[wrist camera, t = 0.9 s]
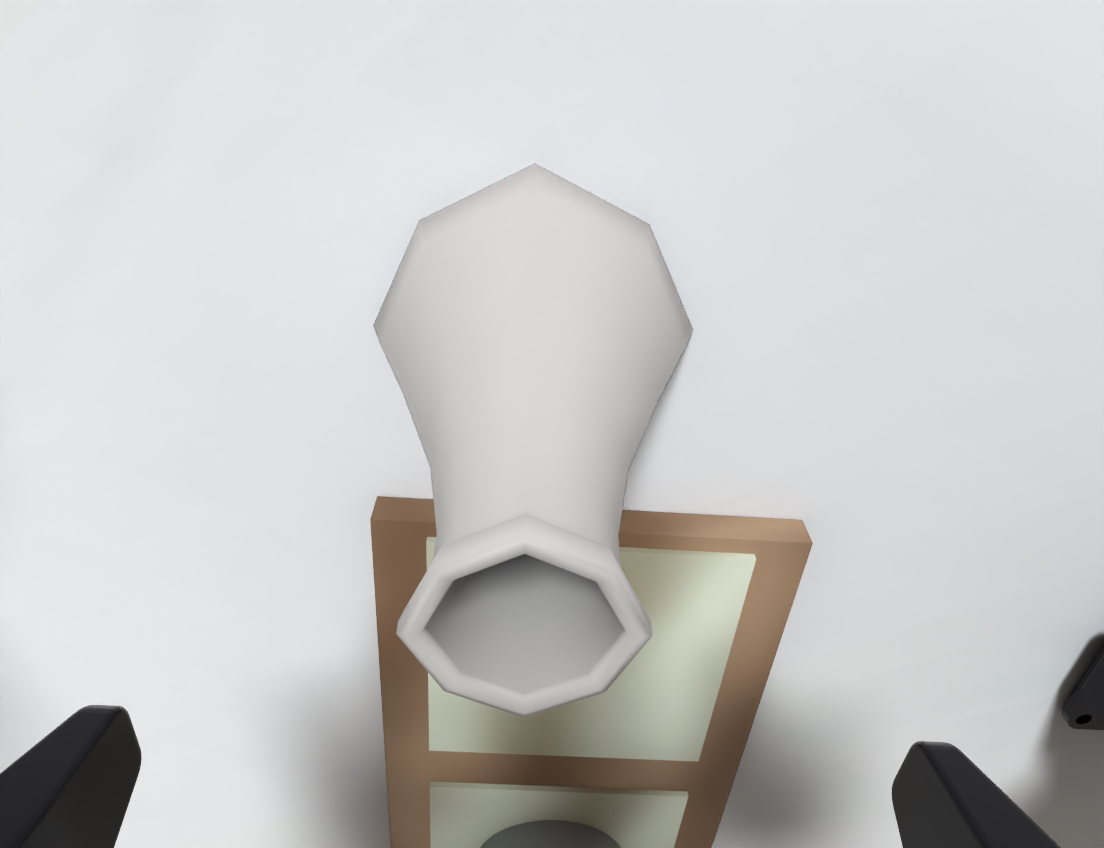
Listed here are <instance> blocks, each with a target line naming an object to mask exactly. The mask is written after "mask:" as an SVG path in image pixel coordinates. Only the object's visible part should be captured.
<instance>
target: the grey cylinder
mask: <svg viewBox="0 0 1104 848" xmlns="http://www.w3.org/2000/svg"><path fill="white" fill-rule="evenodd" d="M481 848H621V847H620V846H619V844H618V843H617V842H616V841H615V840H614V839H613V838H612V837H610V836H609V835H607V834H606V833H604V832H602V831H600V830H598V829H596V828H594V827H591V826H588V825H585V824H581V823H576V822H570V821H561V820H541V821H532V822H526V823H522V824H517V825H514V826H511V827H508V828H506V829H504V830H501V831H499V832H498V833H496V834H494V835H493V836H491V837H490V838H489V839H487V840H486V841H485V843H484V844H483V845H482V846H481Z"/></svg>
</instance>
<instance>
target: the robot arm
mask: <svg viewBox="0 0 1104 848" xmlns="http://www.w3.org/2000/svg"><path fill="white" fill-rule="evenodd" d="M1061 713H1062V716H1063V717H1064V719H1065V720H1066V722H1067V723H1068V725H1069V726H1070V727H1072V728H1075V729H1092V730H1104V646H1103V647H1102V649H1101V650H1100V652H1099V653H1098V655H1097V656H1096V658H1095V660H1094V661H1093V663H1092V664H1091V666H1090V667H1089V669H1088V670H1087V672H1086V673H1085V675H1084V676H1083V678H1082V679H1081V681H1080V683H1079V684H1078V686H1077V687H1076V689H1075V690H1074V692H1073V693H1072V695H1071V696H1070V698H1069V699H1068V701H1067V702H1066V704H1065V705H1064V707H1063V709H1062V711H1061ZM140 766H141V750H140V746H139V743H138V740H137V737H136V734H135V731H134V728H133V725H132V722H131V719H130V716H129V714H128V712H127V710H126V709H124V708H123V707H121V706H106V705H90V706H86V707H84V708H82V709H80V710H78V711H77V712H76V713H74V714H73V715H72V716H71V717H69V718H68V719H67V720H66V721H64V722H63V723H62V724H61V725H60V726H58V727H57V728H56V729H55V730H53V731H52V732H51V733H50V734H48V735H47V736H46V737H45V738H44V739H42V740H41V741H40V742H39V743H37V744H36V745H35V746H34V747H32V748H31V749H30V750H29V751H28V752H26V753H25V754H24V755H23V756H21V757H20V758H19V759H18V760H16V761H15V762H14V763H13V764H12V765H10V766H9V767H8V768H7V769H5V770H4V771H3V772H2V773H0V848H114V846H115V843H116V840H117V837H118V834H119V831H120V828H121V825H122V822H123V819H124V816H125V813H126V810H127V807H128V804H129V801H130V798H131V795H132V792H133V789H134V786H135V783H136V780H137V777H138V774H139V771H140ZM892 801H893V807H894V811H895V815H896V819H897V824H898V828H899V832H900V837H901V841H902V845H903V848H1061V847H1060V846H1058V845H1057V844H1056V843H1055V842H1054V841H1053V840H1052V839H1051V838H1050V837H1049V836H1048V835H1047V834H1046V833H1045V832H1044V831H1043V830H1042V829H1041V828H1040V827H1039V826H1038V825H1037V824H1036V823H1035V822H1034V821H1033V820H1032V819H1031V818H1030V817H1028V816H1027V815H1026V814H1025V813H1024V812H1023V811H1022V810H1021V809H1020V808H1019V807H1018V806H1017V805H1016V804H1015V803H1014V802H1013V801H1012V800H1011V799H1010V798H1009V797H1008V796H1007V795H1006V794H1005V793H1004V792H1003V791H1002V790H1001V789H1000V788H999V787H997V786H996V785H995V784H994V783H993V782H992V781H991V780H990V779H989V778H988V777H987V776H986V775H985V774H984V773H983V772H982V771H981V770H980V769H979V768H978V767H977V766H976V765H975V764H974V763H973V762H972V761H971V760H970V759H969V758H967V757H966V756H965V755H964V754H963V753H962V752H961V751H960V750H959V749H958V748H956V747H955V746H953V745H951V744H949V743H945V742H925V741H919V742H916V743H915V744H913V745H912V746H911V748H910V750H909V752H908V754H907V756H906V758H905V760H904V761H903V763H902V765H901V767H900V769H899V771H898V773H897V775H896V777H895V779H894V782H893V786H892Z"/></svg>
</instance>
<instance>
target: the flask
mask: <svg viewBox="0 0 1104 848" xmlns="http://www.w3.org/2000/svg"><path fill="white" fill-rule="evenodd" d="M373 326H374V329H375V331H376V334H377V337H378V339H379V342H380V344H381V347H382V349H383V351H384V353H385V355H386V358H387V360H388V362H389V364H390V366H391V369H392V371H393V373H394V375H395V377H396V379H397V382H398V384H399V386H400V388H401V390H402V393H403V395H404V398H405V400H406V403H407V406H408V409H409V411H410V414H411V417H412V419H413V422H414V425H415V427H416V430H417V433H418V435H419V438H420V441H421V443H422V446H423V449H424V452H425V454H426V457H427V460H428V462H429V465H430V469H431V479H432V490H433V500H434V510H435V521H436V531H437V535H436V542H435V548H434V554H433V560H432V563H431V565H430V566H429V568H428V570H427V572H426V573H425V575H424V577H423V578H422V580H421V582H420V583H419V585H418V587H417V589H416V590H415V592H414V594H413V595H412V597H411V599H410V601H409V602H408V604H407V606H406V607H405V609H404V611H403V613H402V615H401V617H400V618H399V620H398V625H397V632H396V634H397V635H398V637H399V638H400V639H401V640H402V641H403V643H404V644H405V645H406V646H407V647H408V649H409V650H410V651H411V652H412V653H413V655H414V656H415V657H416V658H417V659H418V661H419V662H420V663H421V664H422V665H423V667H424V668H425V669H426V670H427V671H428V673H429V674H430V675H431V676H432V677H433V679H434V680H435V681H436V682H437V684H438V685H439V686H440V687H441V688H442V690H443V691H445V692H448V693H451V694H454V695H457V696H460V697H463V698H466V699H469V700H472V701H475V702H478V703H481V704H484V705H487V706H490V707H493V708H496V709H499V710H502V711H505V712H509V713H512V714H515V715H518V716H521V717H524V718H526V717H529V716H532V715H535V714H538V713H541V712H544V711H548V710H551V709H554V708H557V707H560V706H563V705H566V704H570V703H573V702H576V701H579V700H582V699H585V698H588V697H592V696H595V695H598V694H601V693H604V692H606V690H607V689H608V688H609V687H610V686H611V685H612V683H613V682H614V681H615V680H616V679H617V677H618V676H619V675H620V674H621V673H622V671H623V670H624V669H625V668H626V667H627V665H628V664H629V663H630V662H631V661H632V659H633V658H634V657H635V656H636V655H637V653H638V652H639V651H640V650H641V649H642V648H643V646H644V645H645V644H646V643H647V642H648V640H649V639H650V638H651V637H652V626H651V622H650V619H649V617H648V615H647V613H646V611H645V609H644V607H643V606H642V604H641V602H640V600H639V599H638V597H637V595H636V593H635V592H634V590H633V588H632V586H631V585H630V583H629V581H628V579H627V578H626V576H625V574H624V572H623V571H622V569H621V559H620V549H619V539H618V533H619V527H620V521H621V514H622V508H623V502H624V495H625V489H626V482H627V476H628V470H629V467H630V465H631V463H632V460H633V458H634V456H635V453H636V451H637V449H638V446H639V444H640V442H641V440H642V437H643V435H644V433H645V430H646V428H647V426H648V423H649V421H650V419H651V417H652V414H653V412H654V410H655V407H656V405H657V403H658V400H659V398H660V396H661V394H662V392H663V390H664V388H665V386H666V384H667V383H668V381H669V379H670V377H671V375H672V373H673V371H674V369H675V367H676V365H677V363H678V361H679V359H680V358H681V356H682V354H683V352H684V350H685V348H686V346H687V343H688V341H689V339H690V337H691V334H692V332H693V328H692V326H691V323H690V321H689V319H688V316H687V314H686V311H685V309H684V307H683V304H682V302H681V299H680V297H679V294H678V292H677V290H676V287H675V285H674V282H673V280H672V278H671V275H670V273H669V270H668V268H667V265H666V263H665V261H664V258H663V256H662V253H661V251H660V249H659V246H658V244H657V241H656V239H655V236H654V234H653V232H652V229H651V227H650V224H648V223H646V222H644V221H642V220H640V219H639V218H637V217H635V216H633V215H631V214H629V213H627V212H625V211H624V210H622V209H620V208H618V207H616V206H614V205H612V204H610V203H609V202H607V201H605V200H603V199H601V198H599V197H597V196H596V195H594V194H592V193H590V192H588V191H586V190H584V189H582V188H581V187H579V186H577V185H575V184H573V183H571V182H569V181H567V180H566V179H564V178H562V177H560V176H558V175H556V174H554V173H553V172H551V171H549V170H547V169H545V168H543V167H541V166H539V165H538V164H536V163H534V164H532V165H530V166H528V167H526V168H524V169H522V170H520V171H518V172H516V173H514V174H512V175H510V176H508V177H506V178H504V179H502V180H500V181H498V182H496V183H494V184H492V185H490V186H488V187H486V188H484V189H482V190H480V191H478V192H476V193H474V194H472V195H470V196H468V197H466V198H464V199H462V200H460V201H458V202H456V203H454V204H452V205H449V206H447V207H445V208H443V209H441V210H439V211H437V212H435V213H433V214H431V215H429V216H427V217H425V218H423V219H421V220H419V222H418V224H417V227H416V229H415V231H414V234H413V236H412V238H411V240H410V243H409V245H408V247H407V250H406V252H405V254H404V256H403V259H402V261H401V263H400V266H399V268H398V270H397V272H396V275H395V277H394V279H393V282H392V284H391V286H390V288H389V291H388V293H387V295H386V298H385V300H384V302H383V304H382V307H381V309H380V311H379V314H378V316H377V318H376V320H375V323H374V325H373Z"/></svg>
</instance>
